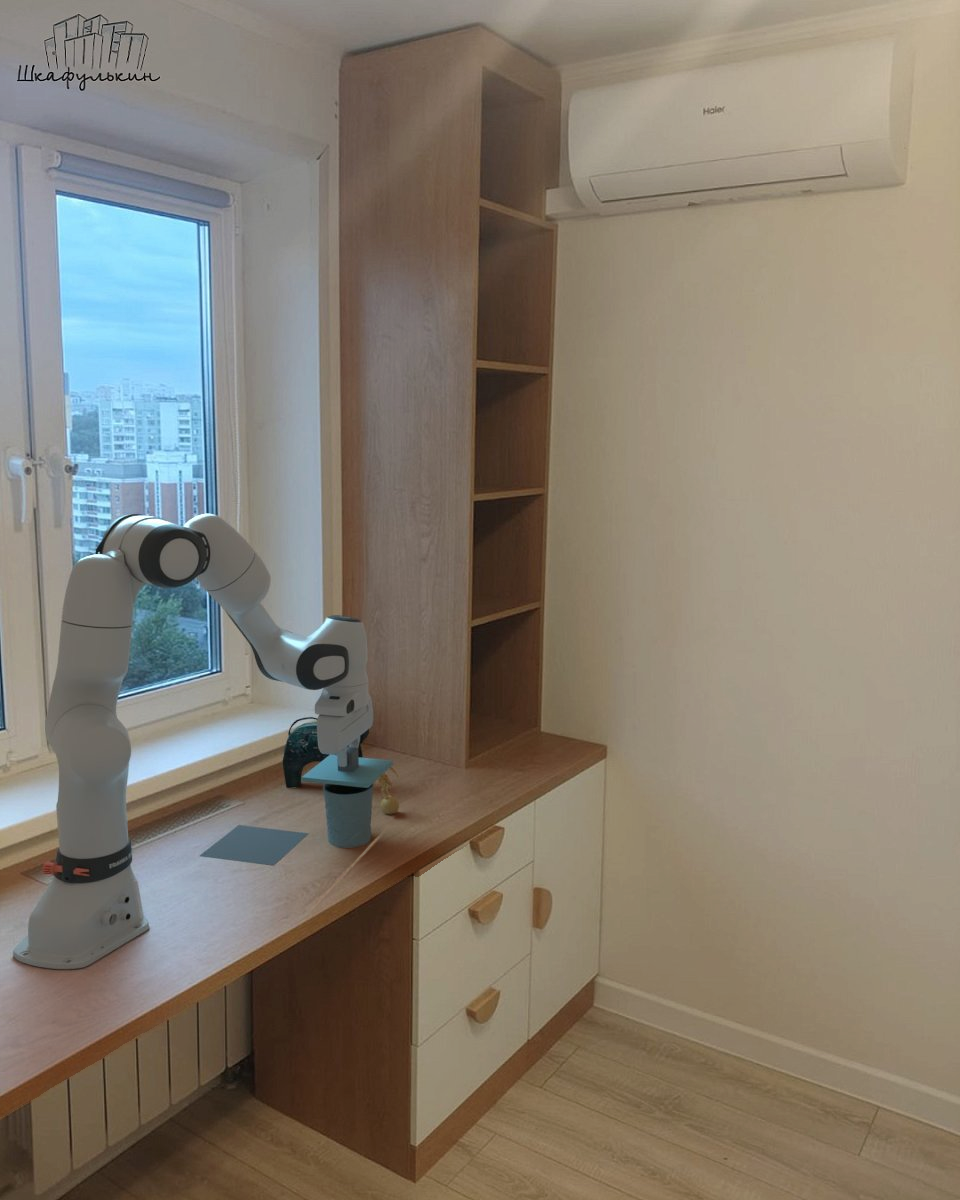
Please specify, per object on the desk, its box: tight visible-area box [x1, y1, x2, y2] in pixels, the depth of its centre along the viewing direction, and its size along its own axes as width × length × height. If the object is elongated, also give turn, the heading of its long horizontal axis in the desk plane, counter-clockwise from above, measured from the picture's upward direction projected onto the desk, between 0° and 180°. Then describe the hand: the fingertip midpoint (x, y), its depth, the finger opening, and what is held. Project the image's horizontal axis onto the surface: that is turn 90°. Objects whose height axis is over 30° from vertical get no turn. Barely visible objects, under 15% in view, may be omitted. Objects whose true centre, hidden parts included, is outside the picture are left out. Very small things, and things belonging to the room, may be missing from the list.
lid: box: [301, 747, 394, 788], centre depth 215 cm, size 14×14×5 cm
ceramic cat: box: [282, 716, 370, 788], centre depth 247 cm, size 20×6×20 cm, turn 84°
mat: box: [199, 824, 309, 867], centre depth 215 cm, size 16×16×1 cm
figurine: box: [373, 766, 400, 816], centre depth 232 cm, size 8×6×12 cm
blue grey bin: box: [322, 783, 374, 849], centre depth 217 cm, size 10×10×12 cm
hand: (348, 761), depth 215 cm, fingers closed on lid, 3 cm apart
